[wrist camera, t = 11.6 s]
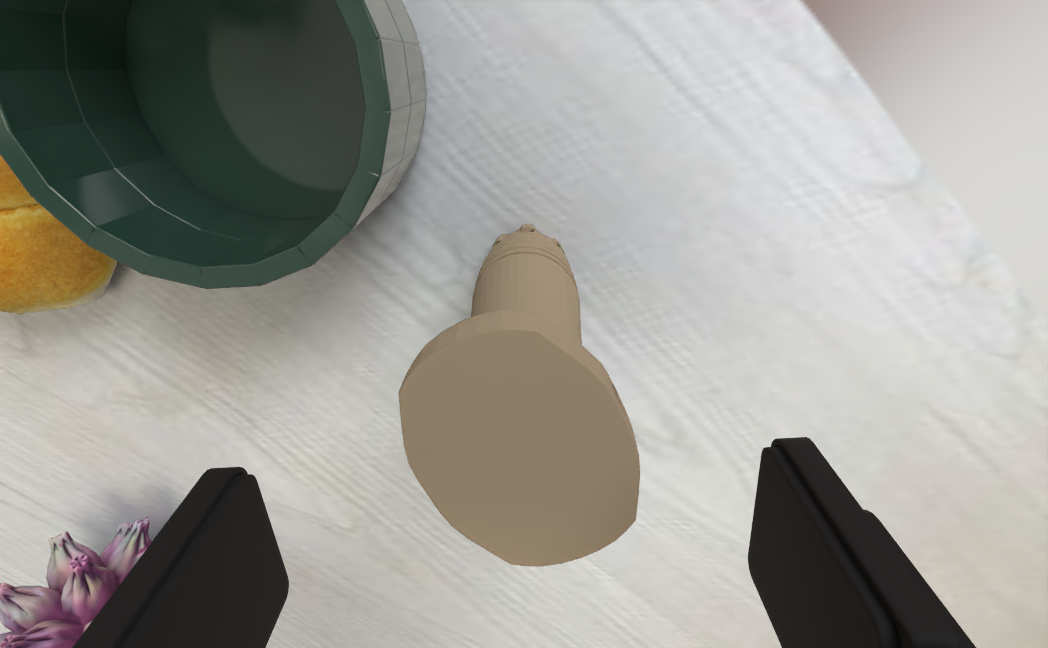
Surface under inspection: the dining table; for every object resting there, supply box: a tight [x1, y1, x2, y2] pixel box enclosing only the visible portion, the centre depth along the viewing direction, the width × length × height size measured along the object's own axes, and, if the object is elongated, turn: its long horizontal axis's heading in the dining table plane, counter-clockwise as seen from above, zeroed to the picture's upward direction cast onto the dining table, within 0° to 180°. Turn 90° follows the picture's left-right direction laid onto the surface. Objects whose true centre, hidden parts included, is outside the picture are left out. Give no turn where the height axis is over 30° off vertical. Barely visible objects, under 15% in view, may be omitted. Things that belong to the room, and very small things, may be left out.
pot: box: [0, 0, 426, 289], centre depth 21 cm, size 13×13×7 cm
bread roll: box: [0, 155, 117, 315], centre depth 24 cm, size 8×9×4 cm
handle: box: [399, 224, 640, 566], centre depth 20 cm, size 5×6×15 cm
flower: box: [0, 517, 151, 648], centre depth 29 cm, size 12×12×12 cm
